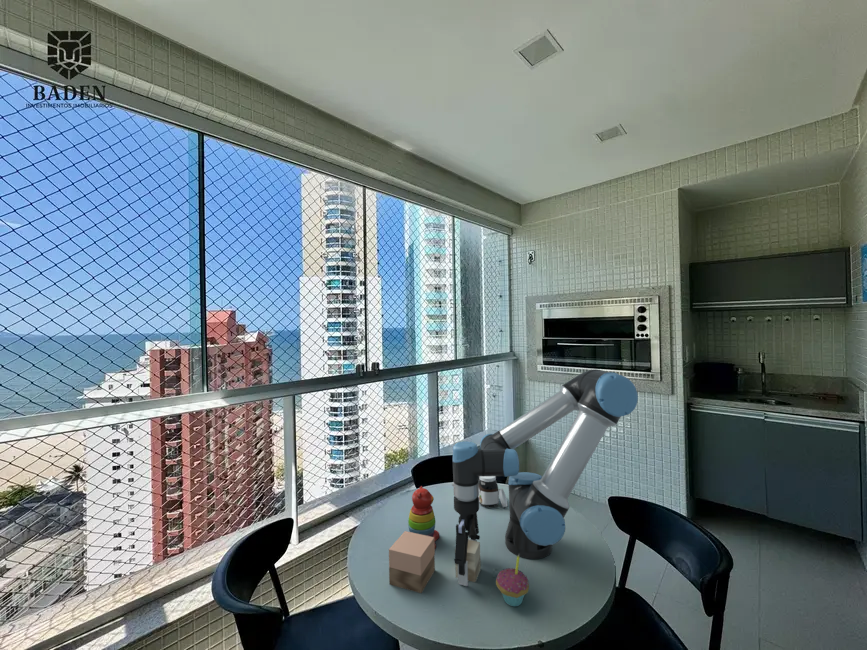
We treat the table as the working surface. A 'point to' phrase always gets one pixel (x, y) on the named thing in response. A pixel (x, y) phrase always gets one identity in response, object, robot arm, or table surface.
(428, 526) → the stacking bear
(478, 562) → the birch block
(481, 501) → the spread jar
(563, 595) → the table surface
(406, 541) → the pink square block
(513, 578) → the cupcake
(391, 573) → the bottom block
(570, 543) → the table surface
